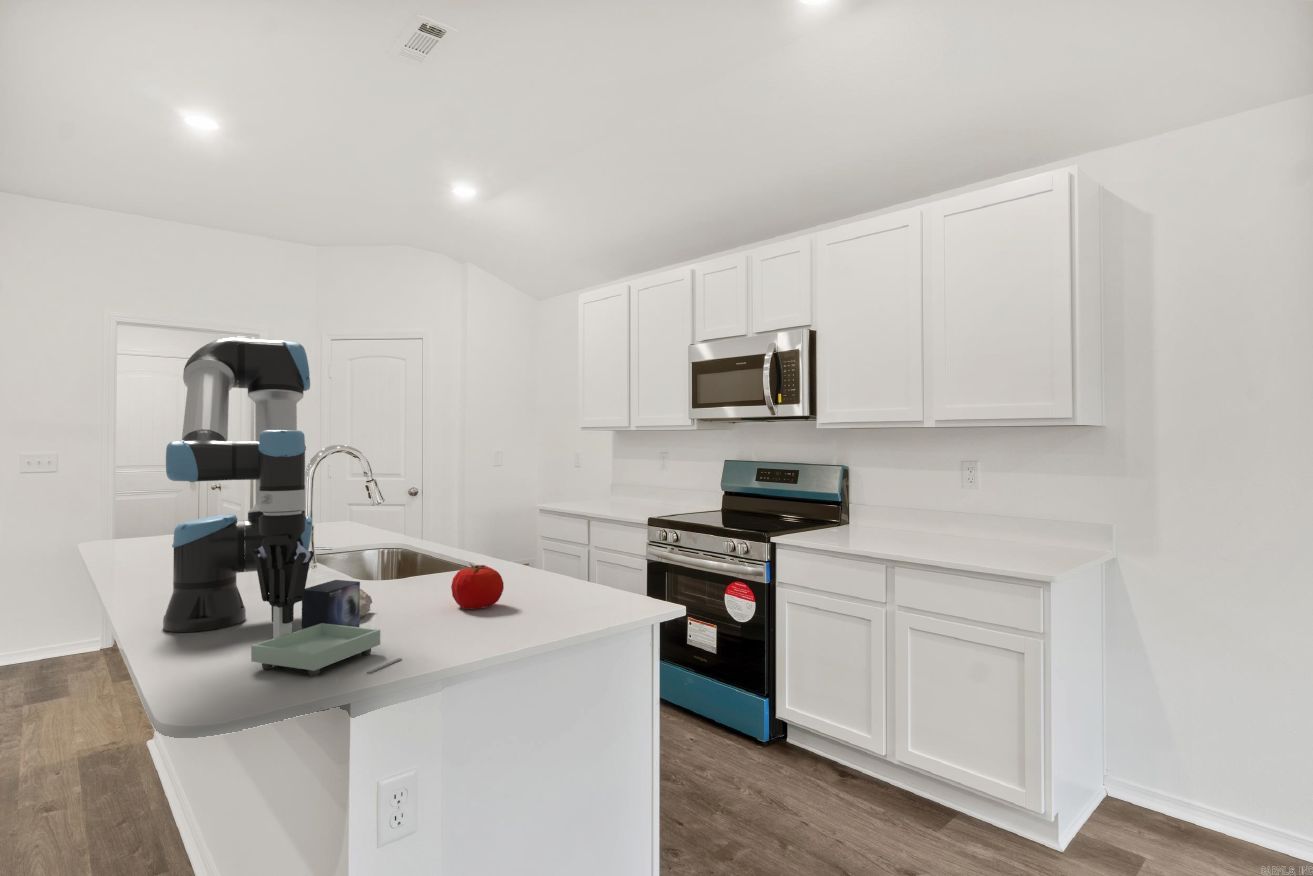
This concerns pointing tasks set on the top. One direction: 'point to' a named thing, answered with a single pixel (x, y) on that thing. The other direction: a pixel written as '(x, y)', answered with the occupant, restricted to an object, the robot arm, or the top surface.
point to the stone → (364, 603)
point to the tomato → (477, 587)
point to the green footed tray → (315, 647)
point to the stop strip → (384, 665)
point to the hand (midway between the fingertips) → (282, 640)
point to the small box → (331, 604)
